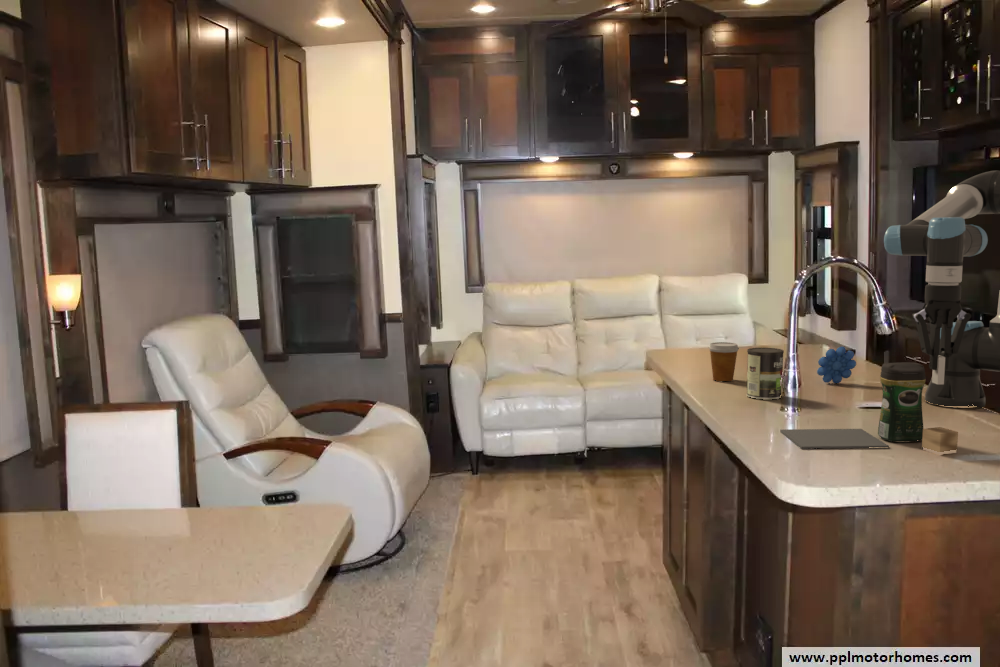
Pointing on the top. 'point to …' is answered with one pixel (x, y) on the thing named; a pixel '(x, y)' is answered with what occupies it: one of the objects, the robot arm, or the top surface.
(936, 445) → the oak block
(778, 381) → the coffee can
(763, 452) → the top surface
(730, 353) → the disposable coffee cup
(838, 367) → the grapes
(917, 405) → the coffee jar
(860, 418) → the top surface
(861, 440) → the mat
